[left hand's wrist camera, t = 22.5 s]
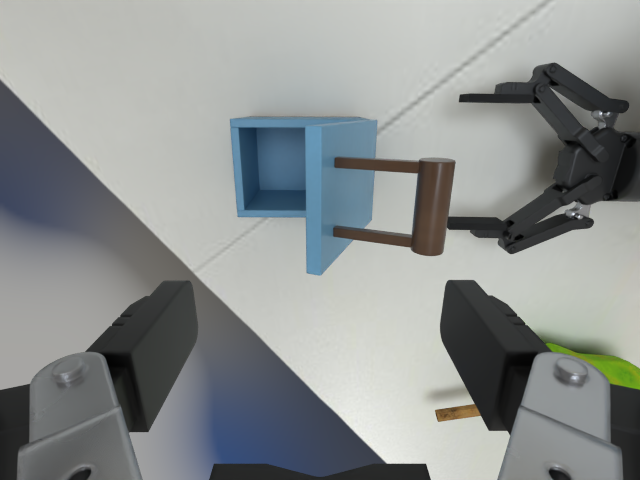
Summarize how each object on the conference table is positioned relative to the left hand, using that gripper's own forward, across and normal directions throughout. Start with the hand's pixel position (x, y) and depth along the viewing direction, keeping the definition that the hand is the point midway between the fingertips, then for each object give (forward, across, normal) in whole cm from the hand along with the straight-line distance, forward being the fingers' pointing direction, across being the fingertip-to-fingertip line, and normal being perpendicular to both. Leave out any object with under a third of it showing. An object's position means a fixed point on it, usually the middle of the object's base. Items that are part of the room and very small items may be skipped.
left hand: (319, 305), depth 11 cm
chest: (+36, -2, 0) cm, 37 cm away
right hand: (+30, +15, 0) cm, 33 cm away
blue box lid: (+19, +2, 0) cm, 19 cm away
